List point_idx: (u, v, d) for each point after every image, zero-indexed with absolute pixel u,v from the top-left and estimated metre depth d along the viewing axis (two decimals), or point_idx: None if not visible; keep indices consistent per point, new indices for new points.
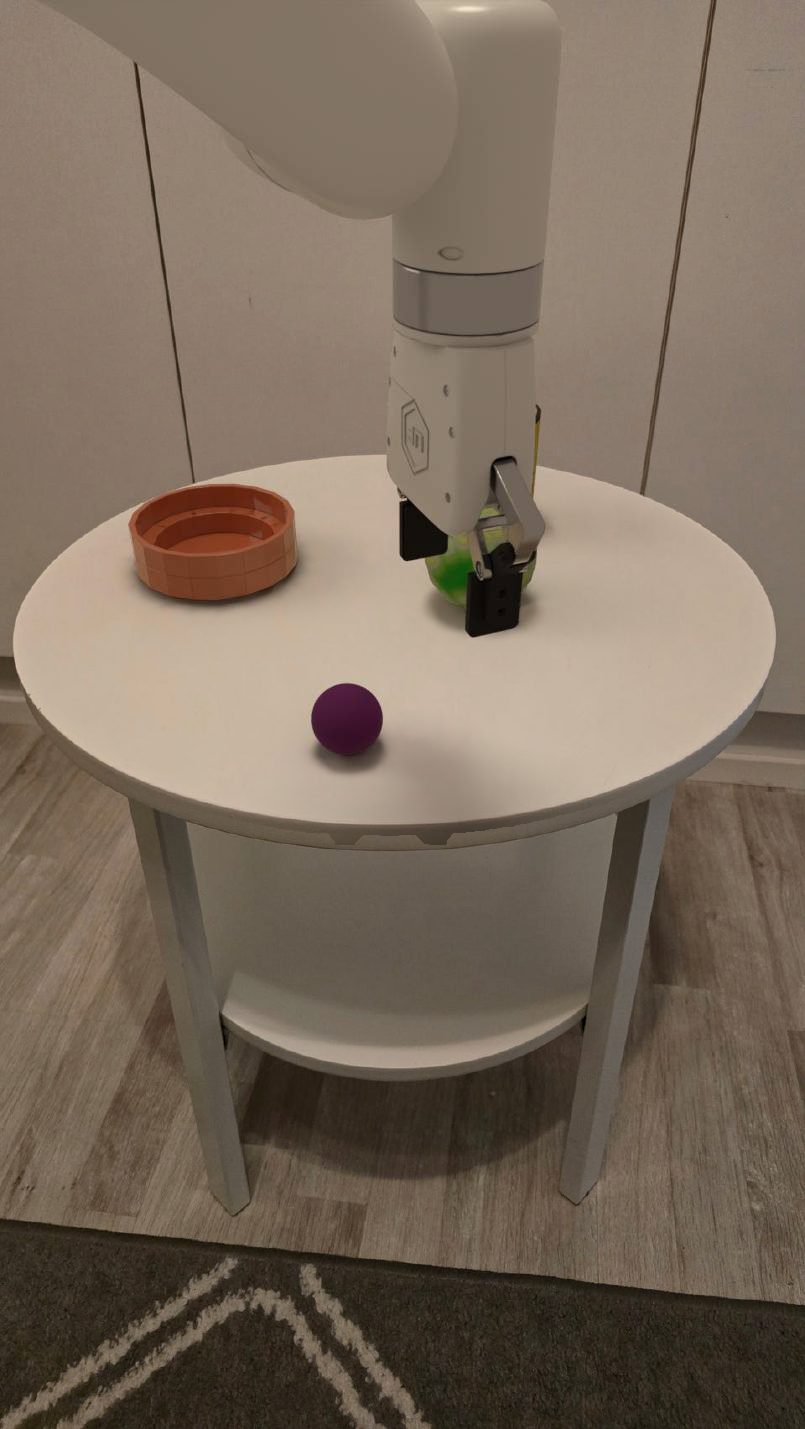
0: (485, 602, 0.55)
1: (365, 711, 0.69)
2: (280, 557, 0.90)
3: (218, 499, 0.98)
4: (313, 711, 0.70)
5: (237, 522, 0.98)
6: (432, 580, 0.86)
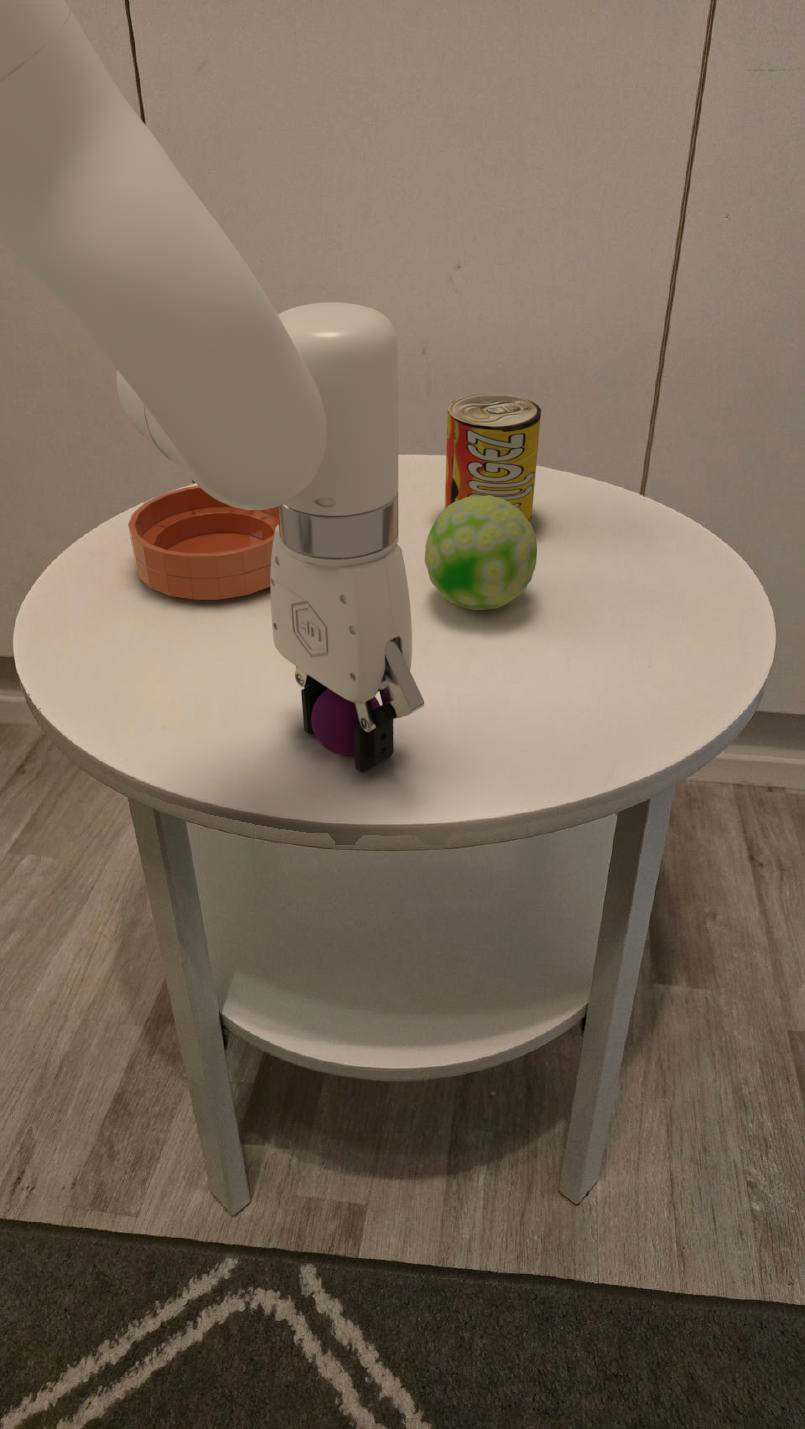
0: (370, 745, 0.69)
1: None
2: None
3: None
4: (313, 711, 0.70)
5: (237, 522, 0.98)
6: (432, 580, 0.86)
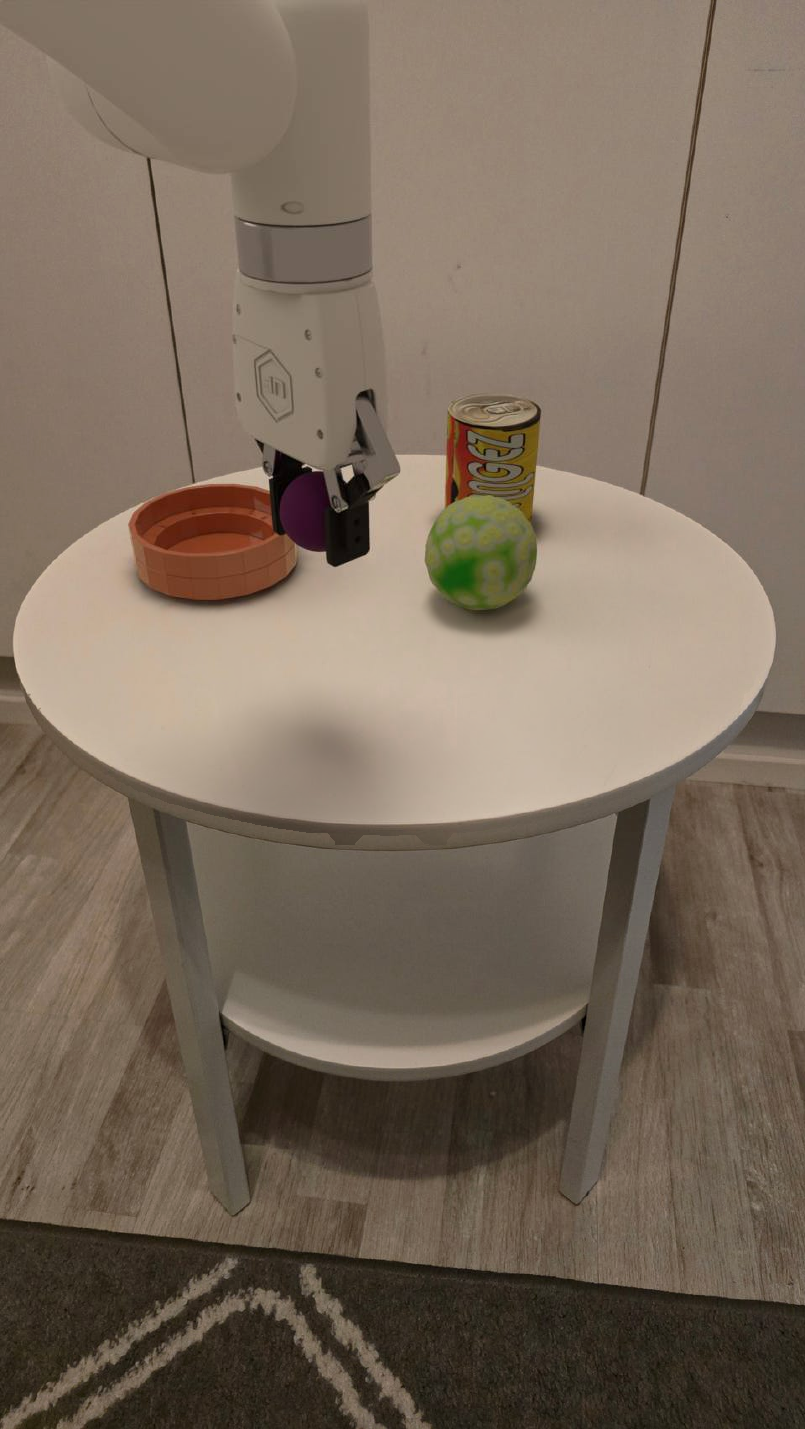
0: (342, 533, 0.62)
1: None
2: (280, 557, 0.90)
3: (218, 499, 0.98)
4: (281, 500, 0.64)
5: (237, 522, 0.98)
6: (432, 580, 0.86)
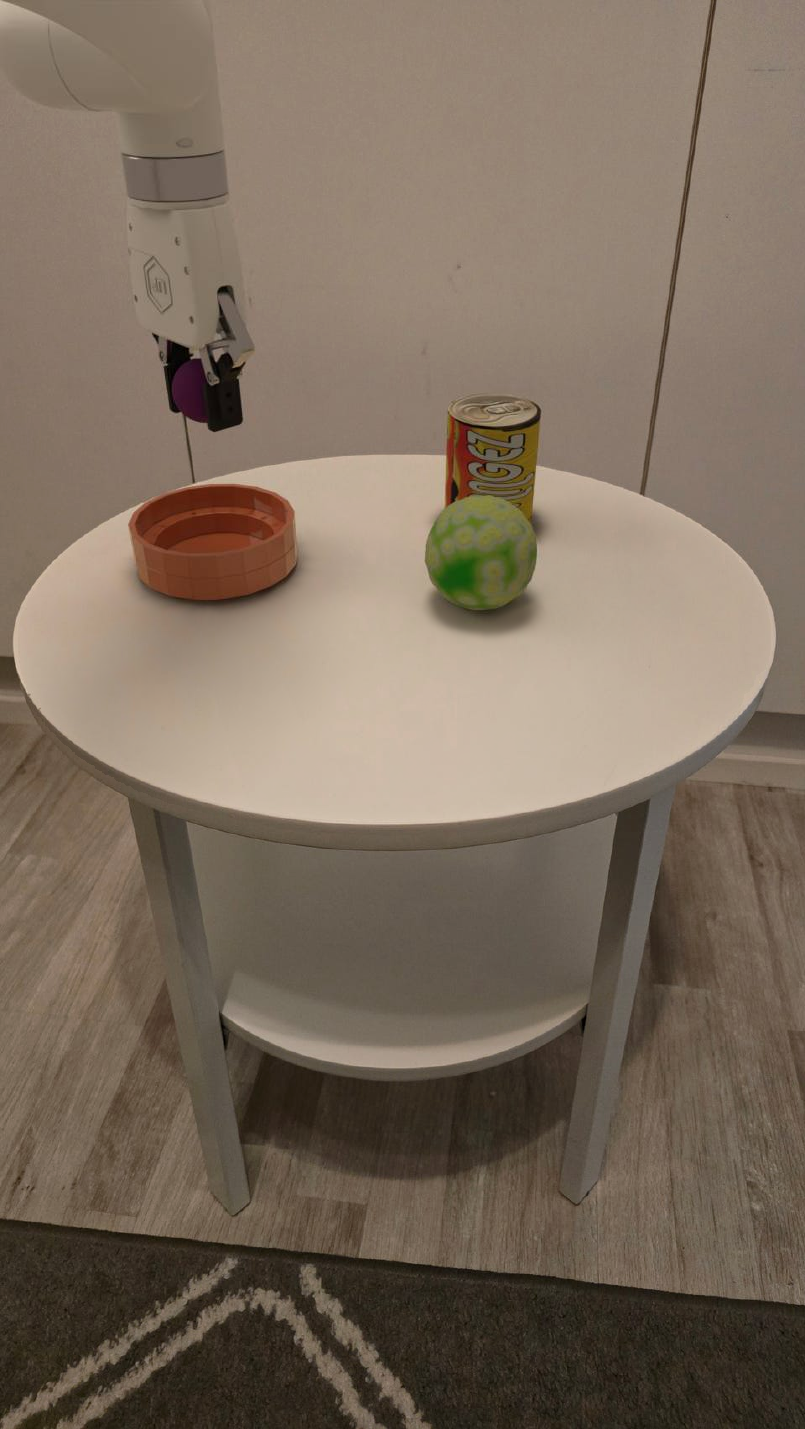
0: (217, 404, 0.80)
1: None
2: (280, 557, 0.90)
3: (218, 499, 0.98)
4: (173, 380, 0.82)
5: (237, 522, 0.98)
6: (432, 580, 0.86)
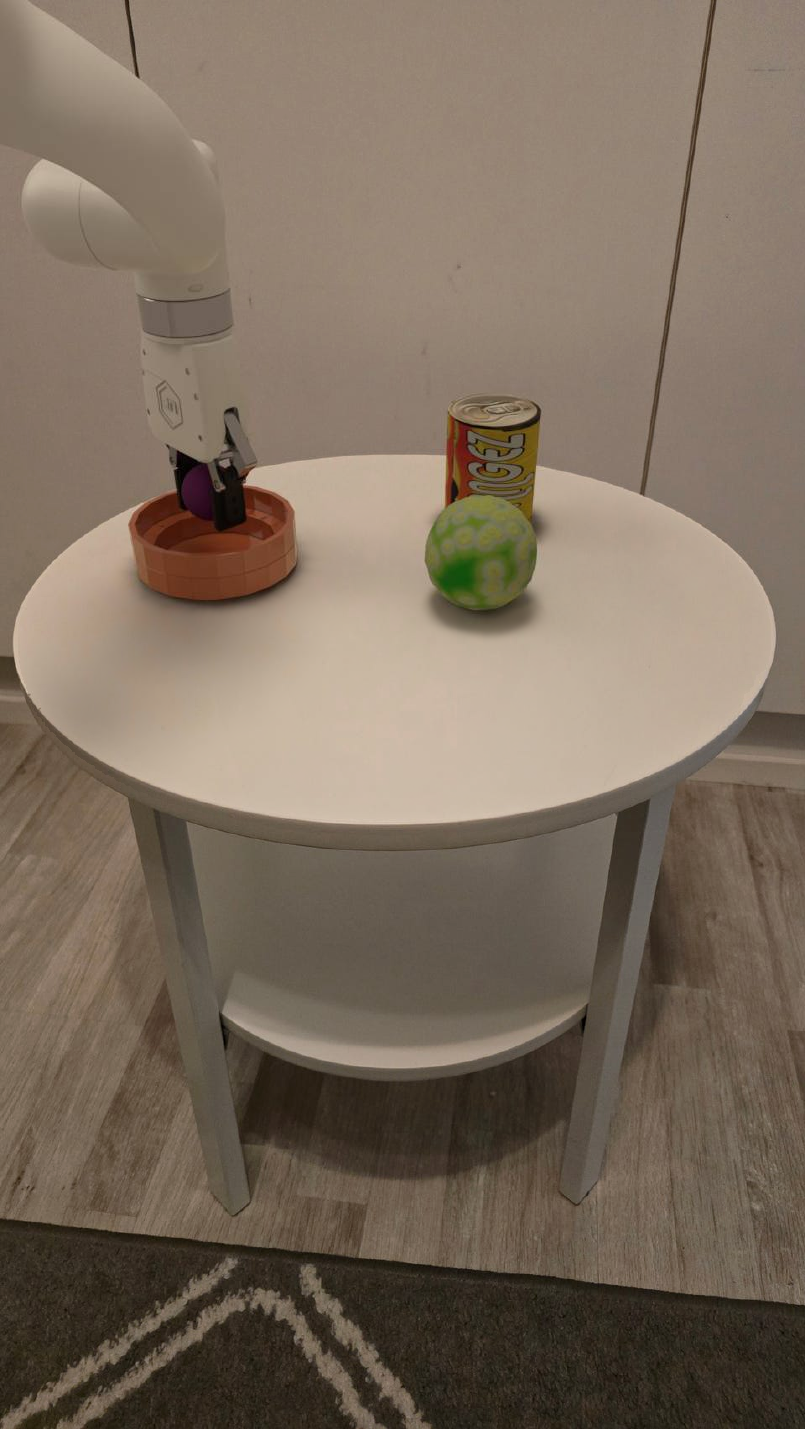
0: (223, 507, 0.88)
1: None
2: (280, 557, 0.90)
3: None
4: (182, 484, 0.90)
5: None
6: (432, 580, 0.86)
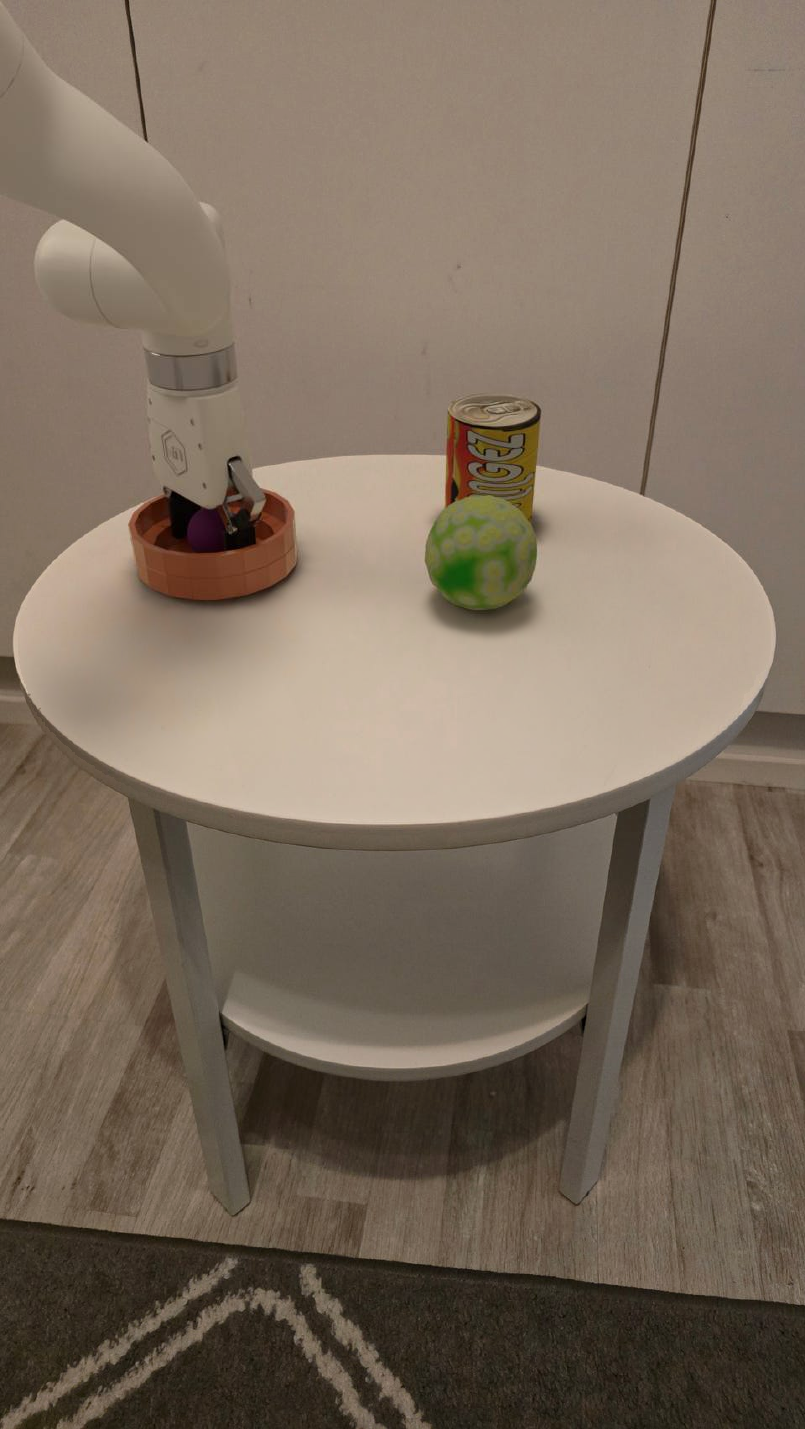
0: (235, 549, 0.89)
1: None
2: (280, 557, 0.90)
3: None
4: (188, 526, 0.92)
5: None
6: (432, 580, 0.86)
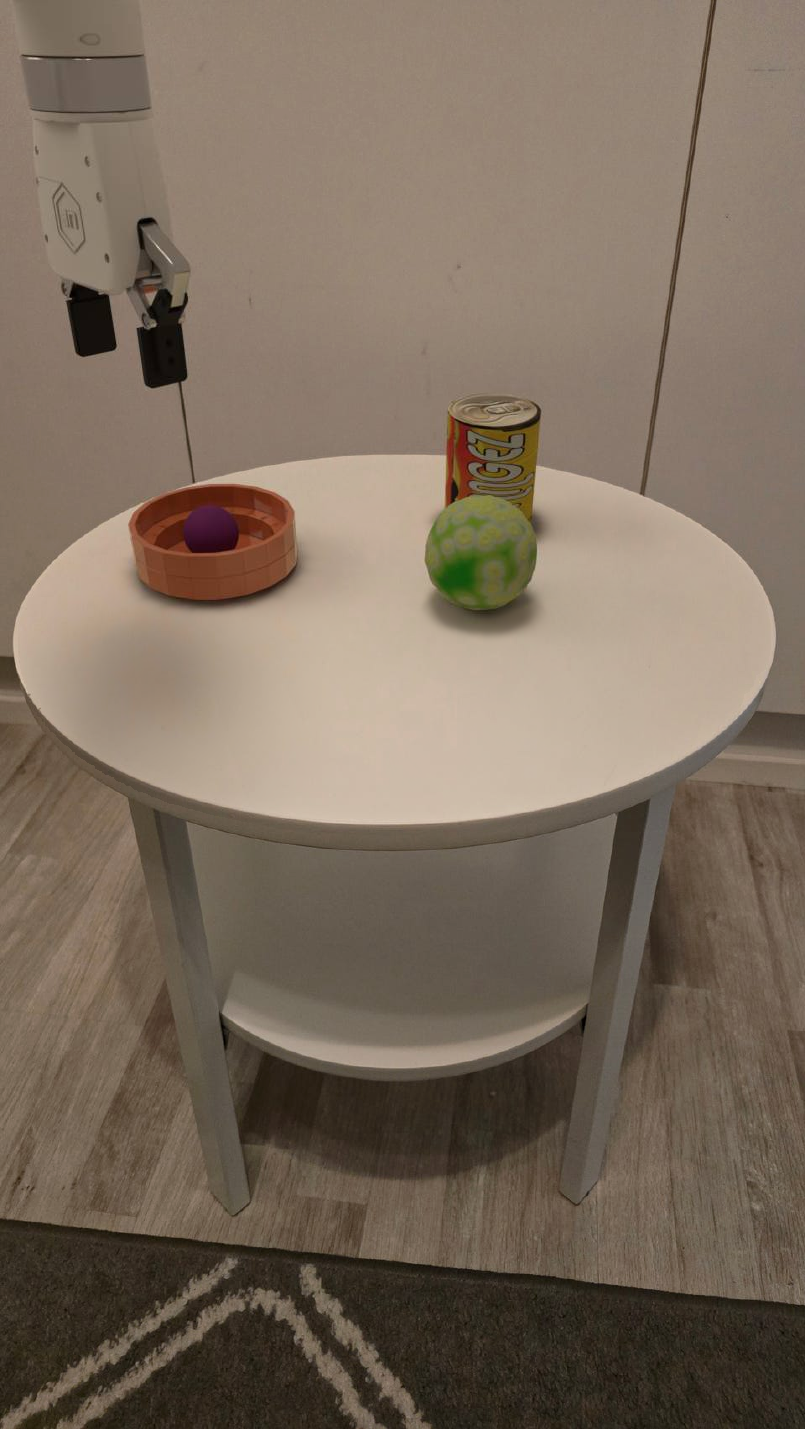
0: (156, 353, 0.67)
1: (218, 519, 0.91)
2: (280, 557, 0.90)
3: (218, 499, 0.98)
4: (183, 528, 0.93)
5: (237, 522, 0.98)
6: (432, 580, 0.86)
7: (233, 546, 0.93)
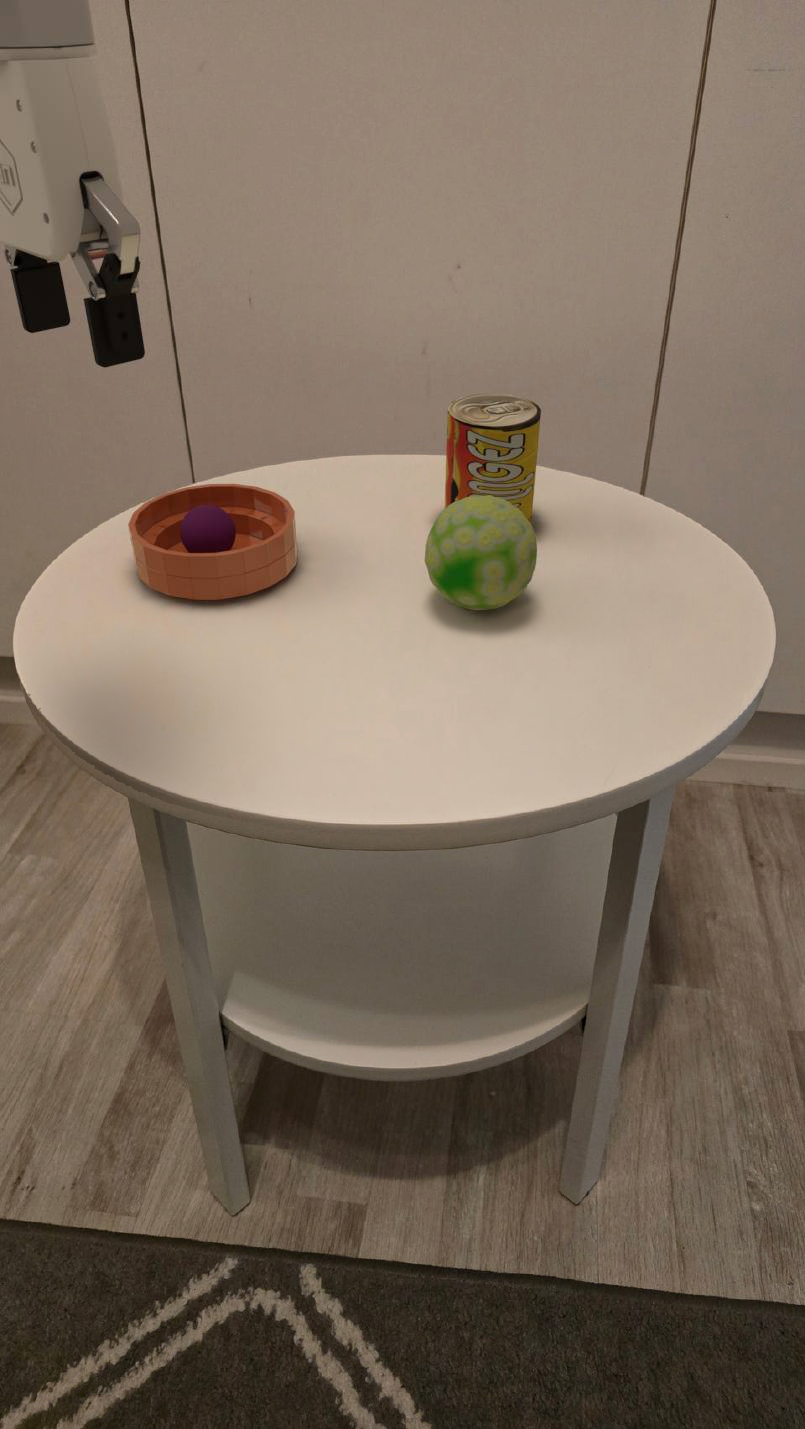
0: (106, 328, 0.59)
1: (212, 516, 0.91)
2: (280, 557, 0.90)
3: (218, 499, 0.98)
4: None
5: (237, 522, 0.98)
6: (432, 580, 0.86)
7: (230, 542, 0.93)
